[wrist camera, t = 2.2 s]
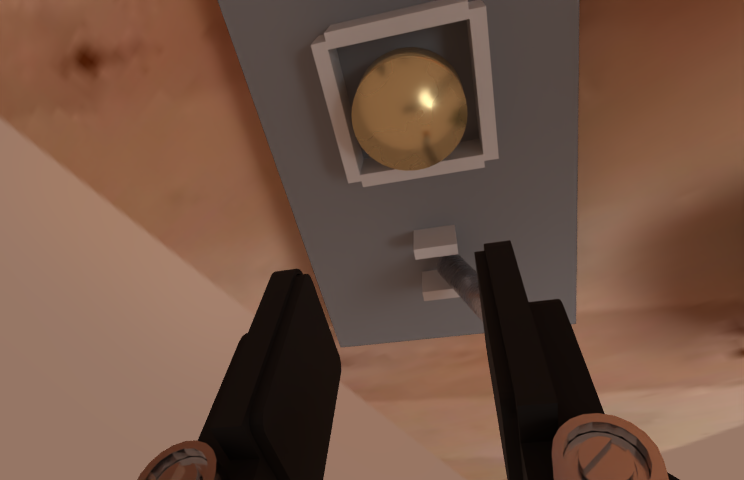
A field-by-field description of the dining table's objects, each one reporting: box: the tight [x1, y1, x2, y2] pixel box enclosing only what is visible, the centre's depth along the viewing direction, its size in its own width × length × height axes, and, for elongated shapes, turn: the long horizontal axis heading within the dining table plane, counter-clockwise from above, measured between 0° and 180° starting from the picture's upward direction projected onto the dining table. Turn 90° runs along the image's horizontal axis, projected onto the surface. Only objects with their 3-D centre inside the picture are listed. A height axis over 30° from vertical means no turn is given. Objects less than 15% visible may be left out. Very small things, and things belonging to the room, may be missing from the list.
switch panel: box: [218, 0, 579, 347], centre depth 24 cm, size 16×34×5 cm, turn 12°
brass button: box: [351, 47, 468, 171], centre depth 22 cm, size 5×5×2 cm
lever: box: [436, 254, 483, 322], centre depth 25 cm, size 3×3×10 cm
